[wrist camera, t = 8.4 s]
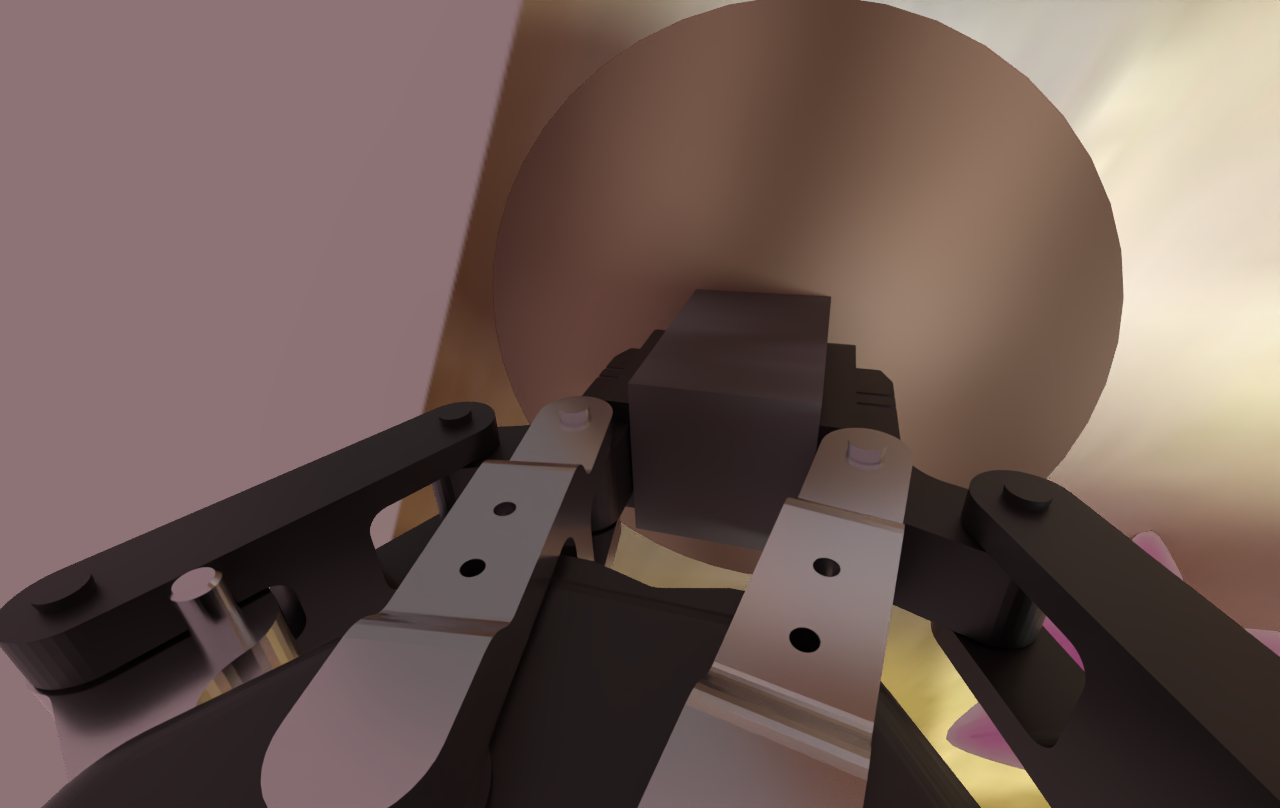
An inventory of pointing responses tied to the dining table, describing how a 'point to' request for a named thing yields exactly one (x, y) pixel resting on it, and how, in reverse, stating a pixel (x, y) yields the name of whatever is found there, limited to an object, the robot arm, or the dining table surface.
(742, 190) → the walnut lid
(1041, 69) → the dining table surface
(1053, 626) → the lily
